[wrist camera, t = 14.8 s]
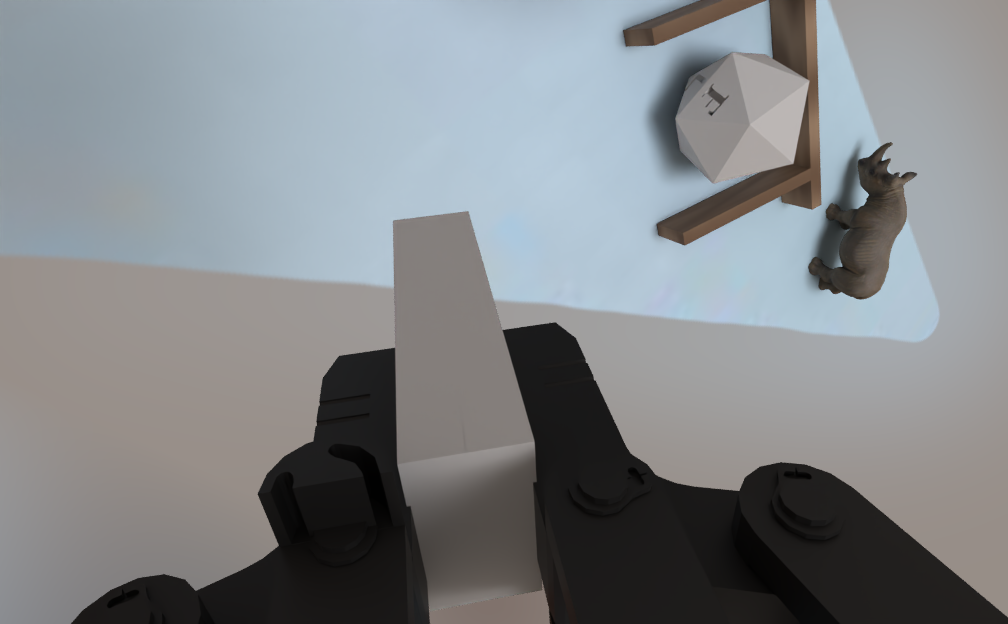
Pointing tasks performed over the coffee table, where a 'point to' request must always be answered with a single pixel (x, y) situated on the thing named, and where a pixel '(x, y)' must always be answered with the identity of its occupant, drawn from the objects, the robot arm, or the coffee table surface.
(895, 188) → the rhino figurine
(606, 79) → the coffee table surface
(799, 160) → the frame
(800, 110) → the die
